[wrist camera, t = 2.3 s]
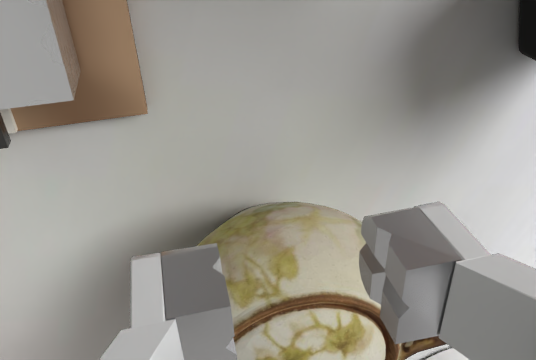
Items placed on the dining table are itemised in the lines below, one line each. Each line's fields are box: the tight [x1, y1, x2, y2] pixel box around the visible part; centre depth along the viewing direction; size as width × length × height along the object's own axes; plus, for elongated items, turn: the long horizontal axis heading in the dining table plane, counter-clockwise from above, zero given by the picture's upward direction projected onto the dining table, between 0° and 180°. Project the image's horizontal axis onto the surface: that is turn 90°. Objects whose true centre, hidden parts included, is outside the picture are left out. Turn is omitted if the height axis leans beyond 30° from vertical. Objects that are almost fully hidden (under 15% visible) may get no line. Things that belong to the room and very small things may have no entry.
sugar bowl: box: [197, 202, 447, 360], centre depth 29 cm, size 20×15×15 cm
